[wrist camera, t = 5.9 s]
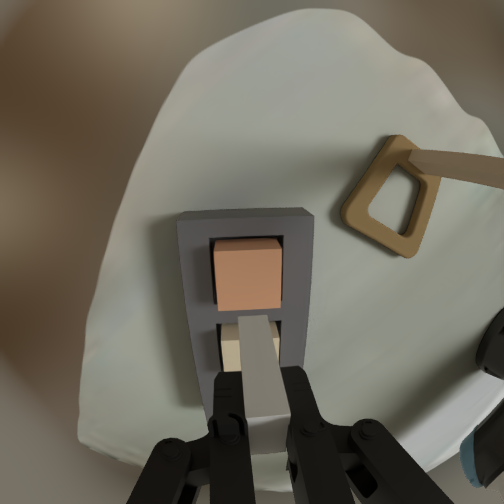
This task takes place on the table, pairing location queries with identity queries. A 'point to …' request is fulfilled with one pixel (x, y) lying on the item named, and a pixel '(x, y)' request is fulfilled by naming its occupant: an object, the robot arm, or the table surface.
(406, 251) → the headphone stand
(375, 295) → the table surface
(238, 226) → the keypad
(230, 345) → the sand key
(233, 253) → the terracotta key
